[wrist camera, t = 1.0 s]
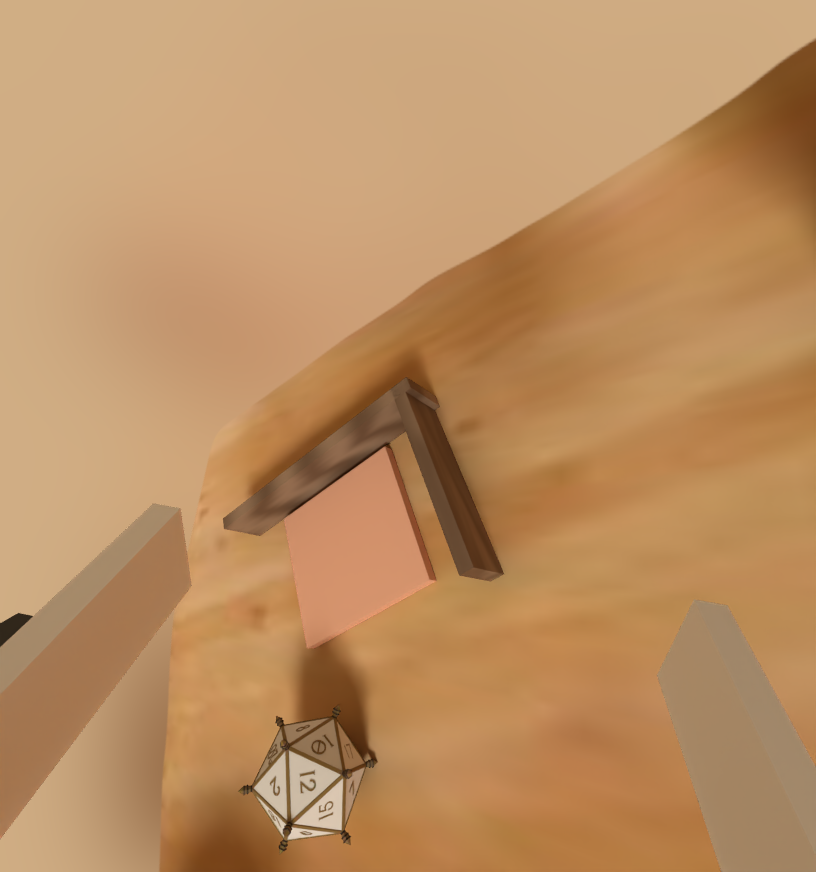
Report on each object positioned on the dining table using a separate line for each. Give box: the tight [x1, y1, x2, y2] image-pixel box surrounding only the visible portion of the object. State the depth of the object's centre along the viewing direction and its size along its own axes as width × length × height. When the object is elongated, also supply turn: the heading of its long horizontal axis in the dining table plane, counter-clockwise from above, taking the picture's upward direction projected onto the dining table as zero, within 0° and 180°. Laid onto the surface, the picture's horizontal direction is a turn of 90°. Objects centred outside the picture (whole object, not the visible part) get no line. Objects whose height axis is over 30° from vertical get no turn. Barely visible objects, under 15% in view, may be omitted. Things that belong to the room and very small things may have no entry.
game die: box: [238, 705, 377, 854], centre depth 36 cm, size 9×8×10 cm
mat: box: [284, 447, 436, 648], centre depth 45 cm, size 14×13×1 cm
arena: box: [223, 377, 504, 581], centre depth 44 cm, size 25×17×4 cm
